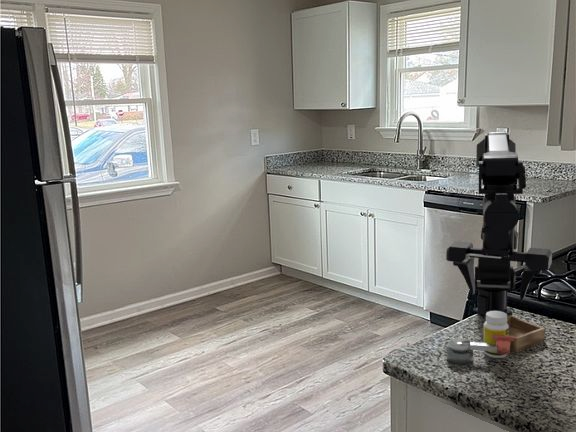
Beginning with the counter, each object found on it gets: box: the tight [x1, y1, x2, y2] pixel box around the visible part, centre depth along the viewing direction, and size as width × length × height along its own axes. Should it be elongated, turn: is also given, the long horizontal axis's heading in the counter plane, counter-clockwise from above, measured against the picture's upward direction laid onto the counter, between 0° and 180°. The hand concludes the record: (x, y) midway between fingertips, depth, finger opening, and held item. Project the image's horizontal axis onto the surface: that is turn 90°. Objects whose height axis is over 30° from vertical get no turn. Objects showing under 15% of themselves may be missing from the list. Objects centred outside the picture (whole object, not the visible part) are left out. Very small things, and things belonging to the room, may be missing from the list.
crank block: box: [446, 346, 474, 366], centre depth 112 cm, size 5×5×2 cm
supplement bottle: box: [483, 311, 509, 359], centre depth 113 cm, size 5×5×8 cm
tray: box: [482, 315, 546, 353], centre depth 119 cm, size 9×9×3 cm
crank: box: [449, 335, 514, 356], centre depth 110 cm, size 12×4×3 cm, turn 74°
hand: (496, 297), depth 112 cm, fingers open, 9 cm apart
